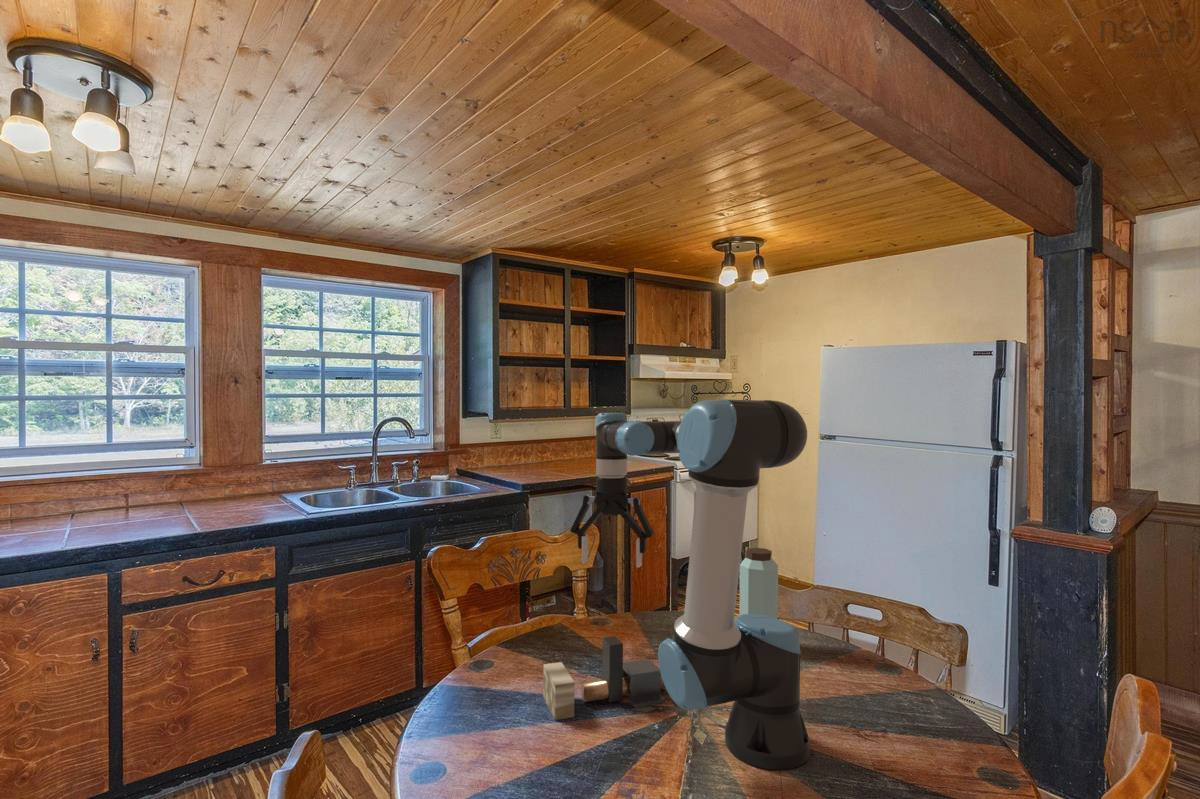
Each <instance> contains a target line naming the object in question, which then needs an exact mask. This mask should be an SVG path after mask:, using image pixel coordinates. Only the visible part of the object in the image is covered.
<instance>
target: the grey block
mask: <svg viewBox="0 0 1200 799" xmlns="http://www.w3.org/2000/svg"><path fill="white" fill-rule="evenodd" d="M627 676H629V677H630V695H629V702H630V704H631V705H632V707H634V709H635V708H637V709H638V708H641V707H643V708H644V707H648V706H653V705H654V704H655V705H661V704H665V703H666V698H665V697H664V696H663V694H661V693H662V689H661V672H660V668H659V666H657V665H656V664H655V663H654V662H653V661H652V660H651V659H650V658H646V659H640V660H639V659H638V660H632V661H627V662H625V661H623V677H627ZM660 703H661V704H660Z"/></svg>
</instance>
